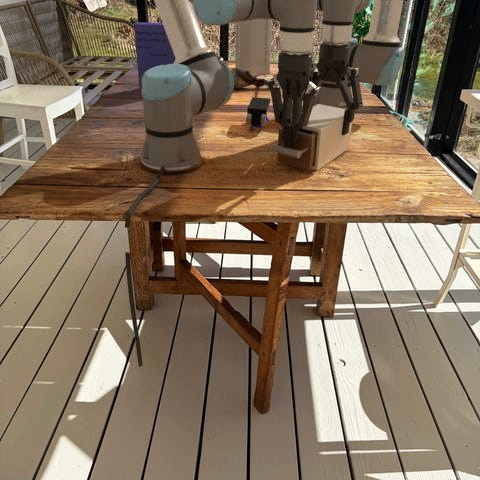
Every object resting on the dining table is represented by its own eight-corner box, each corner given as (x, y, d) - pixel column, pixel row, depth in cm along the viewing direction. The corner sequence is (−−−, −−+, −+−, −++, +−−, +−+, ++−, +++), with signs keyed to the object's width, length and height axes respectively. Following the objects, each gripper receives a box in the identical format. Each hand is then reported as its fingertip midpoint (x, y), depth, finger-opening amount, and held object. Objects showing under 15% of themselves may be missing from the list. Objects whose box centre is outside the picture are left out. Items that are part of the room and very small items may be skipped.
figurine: (210, 87, 179) (288, 95, 182) (212, 65, 176) (291, 73, 180) (208, 84, 201) (278, 91, 205) (210, 64, 198) (280, 71, 202)
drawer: (298, 178, 114) (301, 142, 110) (265, 168, 119) (266, 134, 114) (340, 149, 130) (344, 117, 125) (309, 142, 135) (312, 111, 130)
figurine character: (266, 138, 144) (270, 118, 156) (267, 114, 140) (271, 95, 151) (244, 136, 145) (250, 117, 157) (244, 113, 140) (250, 94, 152)
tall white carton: (273, 76, 210) (276, 6, 196) (239, 77, 209) (240, 6, 194) (266, 67, 226) (268, 2, 212) (235, 67, 225) (235, 1, 210)
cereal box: (185, 88, 190) (183, 22, 177) (183, 91, 186) (180, 24, 173) (142, 87, 190) (136, 21, 178) (139, 90, 186) (133, 23, 174)
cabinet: (317, 170, 120) (321, 129, 115) (281, 160, 126) (283, 121, 120) (348, 148, 133) (353, 110, 127) (314, 140, 138) (318, 103, 133)
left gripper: (330, 52, 104) (320, 154, 116) (279, 46, 110) (274, 143, 122) (314, 57, 99) (305, 164, 111) (261, 50, 105) (258, 152, 117)
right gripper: (385, 46, 115) (371, 134, 126) (301, 36, 126) (295, 118, 138) (373, 50, 110) (359, 142, 121) (287, 39, 121) (282, 124, 133)
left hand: (289, 153), depth 117 cm, fingers closed
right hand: (325, 129), depth 129 cm, fingers closed on cabinet, 11 cm apart
